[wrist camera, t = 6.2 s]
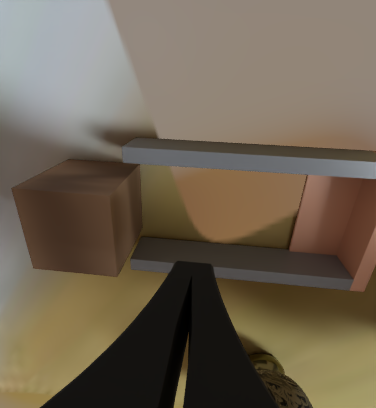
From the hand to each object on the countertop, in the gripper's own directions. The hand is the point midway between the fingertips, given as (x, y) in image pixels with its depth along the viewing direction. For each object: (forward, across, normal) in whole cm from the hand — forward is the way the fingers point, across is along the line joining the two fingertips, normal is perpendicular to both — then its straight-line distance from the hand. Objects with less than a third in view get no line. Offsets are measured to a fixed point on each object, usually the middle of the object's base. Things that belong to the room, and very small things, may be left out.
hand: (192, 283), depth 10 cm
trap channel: (+7, -2, 0) cm, 8 cm away
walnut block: (+7, +6, 0) cm, 10 cm away
